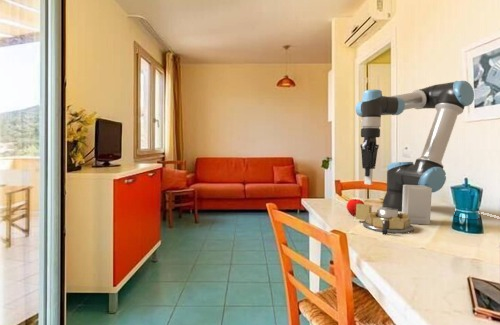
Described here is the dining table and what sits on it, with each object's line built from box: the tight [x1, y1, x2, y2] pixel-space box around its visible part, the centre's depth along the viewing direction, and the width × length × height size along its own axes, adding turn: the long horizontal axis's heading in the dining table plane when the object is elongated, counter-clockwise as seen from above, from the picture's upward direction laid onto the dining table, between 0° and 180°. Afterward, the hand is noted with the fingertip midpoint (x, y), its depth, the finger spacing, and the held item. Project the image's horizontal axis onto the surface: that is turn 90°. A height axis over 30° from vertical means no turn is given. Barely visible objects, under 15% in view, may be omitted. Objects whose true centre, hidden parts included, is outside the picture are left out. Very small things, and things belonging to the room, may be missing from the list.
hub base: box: [362, 207, 414, 236], centre depth 127 cm, size 20×18×7 cm
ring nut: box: [355, 203, 411, 229], centre depth 129 cm, size 20×15×6 cm
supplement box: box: [401, 185, 433, 226], centre depth 136 cm, size 9×9×15 cm
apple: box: [346, 198, 365, 217], centre depth 147 cm, size 8×8×7 cm
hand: (368, 184), depth 138 cm, fingers closed
